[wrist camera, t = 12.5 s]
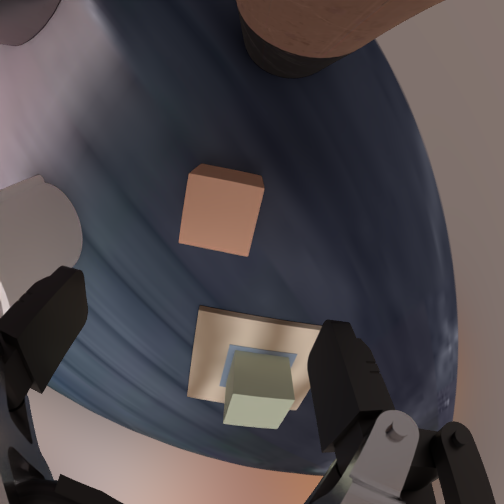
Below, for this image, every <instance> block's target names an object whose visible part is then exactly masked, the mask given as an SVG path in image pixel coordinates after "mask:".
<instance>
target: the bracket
mask: <svg viewBox="0 0 504 504" xmlns="http://www.w3.org/2000/svg"><path fill="white" fill-rule="evenodd" d="M81 250H82V230H81V225H80V221H79V218H78V215H77V213H76V210H75V208H74V207H73V205H72V203H71V202H70V200H69V199H68V198H67V196H66V195H65V194H64V193H63V192H62V191H61V190H60V189H58V188H57V187H55V186H53V185H51V184H49V183H44V179H43V177H42V176H41V175H37V176H34V177H31V178H29V179H26V180H23V181H21V182H18V183H16V184H13V185H11V186H9V187H6V188H4V189H1V190H0V318H1V317H2V316H3V315H4V314H5V313H6V312H7V311H8V310H9V308H10V307H11V306H12V305H13V304H14V303H15V302H16V301H19V298H20V297H21V296H22V295H23V294H24V293H25V294H26V291H27V290H28V289H29V288H30V287H31V286H32V285H33V284H34V283H35V282H37V281H39V280H41V279H43V278H45V277H47V276H48V277H49V276H50V275H51V274H52V273H53V272H54V271H56V270H57V269H58V268H59V267H60V266H67V267H70V268H72V267H73V266H74V265H75V264H76V262H77V261H78V259H79V256H80V254H81Z"/></svg>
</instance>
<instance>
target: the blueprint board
mask: <svg viewBox="0 0 504 504" xmlns="http://www.w3.org/2000/svg"><path fill="white" fill-rule="evenodd" d="M321 327H322V326H319V325H312V324H305V323H298V322H291V321H285V320H278V319H272V318H266V317H260V316H254V315H248V314H243V313H237V312H232V311H226V310H221V309H216V308H211V307H206V306H201V305H200V307H199V312H198V319H197V326H196V332H195V339H194V347H193V354H192V361H191V369H190V377H189V385H188V393H187V397H193V398H198V399H203V400H209V401H215V402H221V403H225V390H226V381H227V378H228V374H229V371H230V367H231V363H232V360H233V356H234V353H235V350H239V351H245V352H252V353H259V354H266V355H273V356H281V357H289V362H290V368H291V375H292V382H293V389H294V396H295V401H294V403H293V404H292V406H291V408H290V409H289V410H297V408H298V407H299V405H300V404H301V402H302V400H303V399H304V397H305V396H306V394H307V392H308V391H309V389H310V382H309V376H308V371H307V362H308V357H309V353H310V351H311V349H312V347H313V345H314V343H315V341H316V338H317V336H318V334H319V332H320V330H321Z"/></svg>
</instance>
